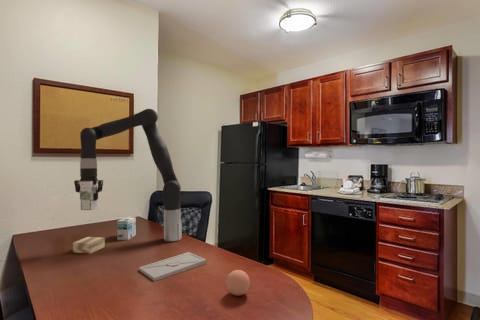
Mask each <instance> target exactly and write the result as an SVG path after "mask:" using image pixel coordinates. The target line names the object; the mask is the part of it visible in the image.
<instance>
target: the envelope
mask: <svg viewBox="0 0 480 320" xmlns="http://www.w3.org/2000/svg"><path fill="white" fill-rule="evenodd" d="M206 264H207V259H206V258H204V257H201V256H199V255H196V254H194V253H192V252H190V251H187V252H184V253H181V254H179V255H175V256H171V257H168V258H165V259H161V260H158V261H155V262H152V263H148V264H145V265H143V266H139V268H138V271H139V272H141V273H142V274H143V275H145V276H146V277H148V278H149V279H150V280H152V281H153V282H156V281H159V280H162V279H165V278H168V277H171V276H174V275H177V274H180V273H184V272H185V271H189V270H191V269H195V268H197V267H201V266H203V265H206Z"/></svg>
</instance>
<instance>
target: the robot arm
mask: <svg viewBox="0 0 480 320" xmlns="http://www.w3.org/2000/svg"><path fill="white" fill-rule="evenodd" d="M158 119H159V115H158V113H157V111H156V110H155V109H152V108H146V109H143V110H142V111H139V112H136V113H135V114H132V115H129V116H127V117H123V118H120V119H119V118H118V119H115V120H112V121H108V122H105V123H102V124H100V125H97V126H93V127H83V129H81V131H80V133H79V134H80V135H79V137H80V162H79V169H80V170H79V172H80V173H79V175H80V179H75V180H74V182H73V183H74V188H75V192H76V193H79V199H80V201H81V195H80V182H82V181H83V182H86V181H88V182H90V181H93V185H95V184H96V183H97V186H96V187H94V186H93V185H92V189H93V192H94V193H93V195H94V201H96V200H98V199H99V193H101V192H102V191H103V186H104V179H98V160H97V141H98V140H100V139H103V138H108V137H111V136H114V135H118V134H120V133H123V132H125V131H127V130H130V129H132V128H136V127H140V126H141V128H142V129H143V132H144V134H145V136H146V139H147V144H148V148H149V151H150V154H151V156H152V159H153V162H154V164H155V165H156V168H157V170H158V171H159V173H160V174H161V177H162V180H163V185H164V186H163V187H162V203H163V240H164V241H165V242H176V241H177V242H178V241H180V240H182V237H183V235H182V230H183V229H182V227H183V226H182V225H183V224H182V223H183V222H182V221H181V220H182V219H181V218H182V217H181V216H182V215H181V210H182V209H181V207H182V206H181V189H182V188H181V184H180V183H179V180H178V177H177V175H176V173H175V171H174V170H175V169H174V168H173V167H174V166H173V162H172V159H171V156H170V152H169V150H168V146H167V144H166V143H165V141H164V139H163V138H162V136H161V134H160V132H159V129H158V125H157V122H158Z"/></svg>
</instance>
